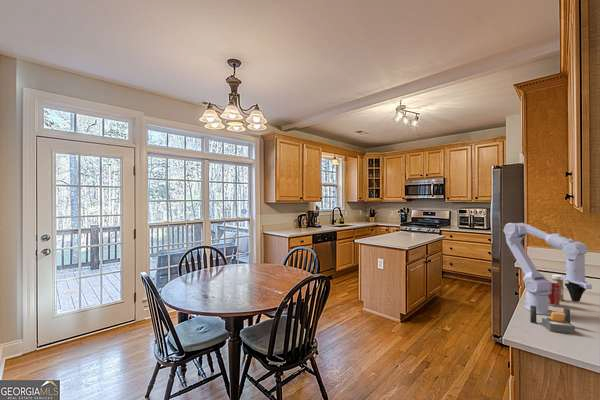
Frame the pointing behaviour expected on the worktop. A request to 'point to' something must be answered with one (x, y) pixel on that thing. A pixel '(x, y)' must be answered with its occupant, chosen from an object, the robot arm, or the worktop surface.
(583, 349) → the worktop surface
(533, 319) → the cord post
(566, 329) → the breaker box
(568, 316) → the cylinder
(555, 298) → the beverage can
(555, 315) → the breaker paddle
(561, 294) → the sprinkles bottle
